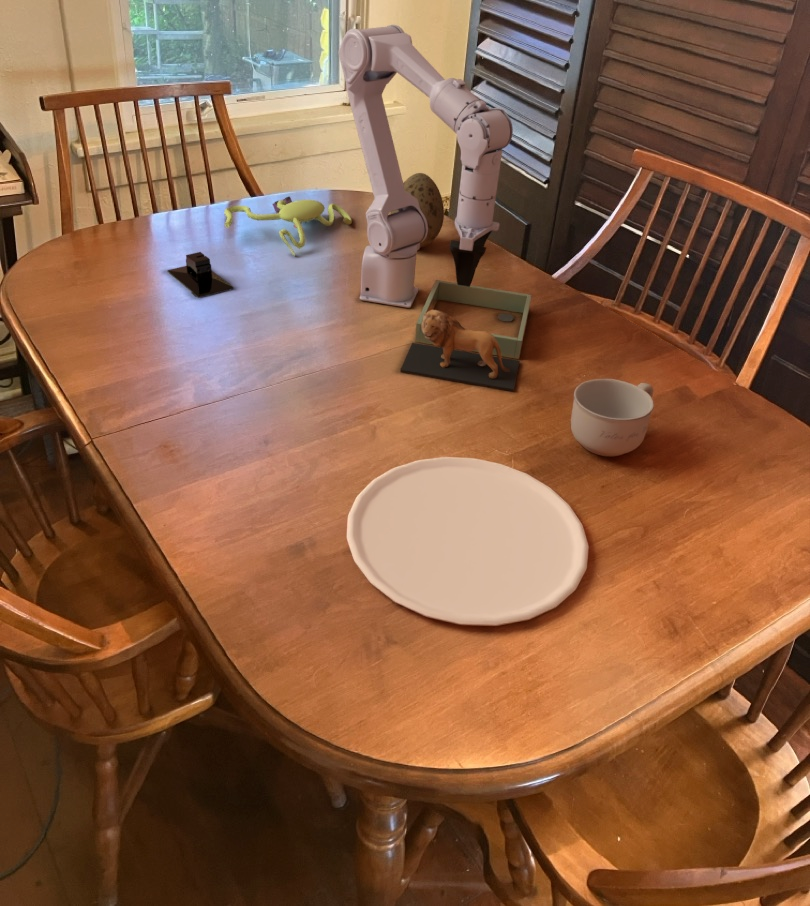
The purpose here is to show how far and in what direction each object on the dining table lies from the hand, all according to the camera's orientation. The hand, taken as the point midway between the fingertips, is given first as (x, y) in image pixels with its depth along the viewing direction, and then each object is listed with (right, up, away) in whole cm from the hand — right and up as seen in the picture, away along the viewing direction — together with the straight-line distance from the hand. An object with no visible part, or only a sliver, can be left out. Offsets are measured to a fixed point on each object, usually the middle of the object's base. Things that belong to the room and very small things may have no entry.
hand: (467, 275), depth 132 cm
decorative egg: (-8, +13, +34) cm, 38 cm away
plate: (-3, -40, -35) cm, 53 cm away
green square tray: (+2, -7, +8) cm, 11 cm away
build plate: (-48, +2, +15) cm, 50 cm away
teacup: (+19, -28, -17) cm, 38 cm away
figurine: (-35, +17, +36) cm, 53 cm away
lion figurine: (-1, -16, -4) cm, 16 cm away
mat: (-1, -16, -3) cm, 16 cm away
